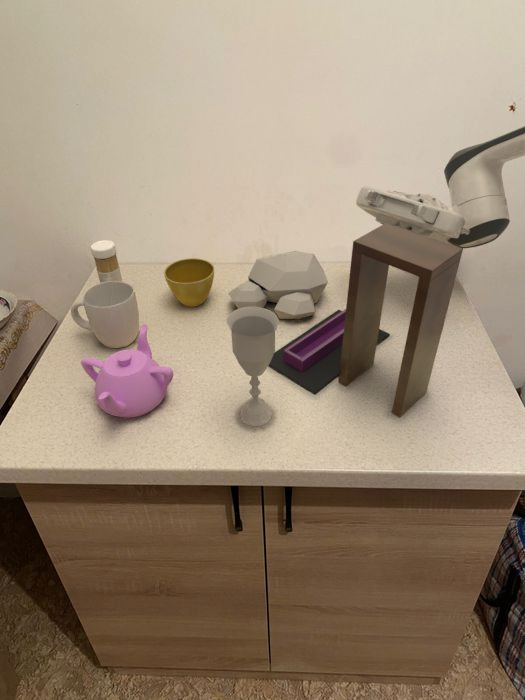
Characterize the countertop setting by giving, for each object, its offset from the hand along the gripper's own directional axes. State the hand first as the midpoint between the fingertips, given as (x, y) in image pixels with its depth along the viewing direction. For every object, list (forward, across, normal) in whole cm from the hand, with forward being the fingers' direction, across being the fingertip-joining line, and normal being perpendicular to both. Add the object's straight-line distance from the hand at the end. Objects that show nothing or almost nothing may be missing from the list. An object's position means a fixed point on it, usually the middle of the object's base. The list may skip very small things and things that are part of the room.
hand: (392, 201), depth 86 cm
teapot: (+29, +15, -44) cm, 55 cm away
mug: (+23, +32, -41) cm, 57 cm away
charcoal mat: (+1, 0, -28) cm, 28 cm away
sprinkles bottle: (+17, +42, -37) cm, 58 cm away
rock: (-4, +18, -25) cm, 31 cm away
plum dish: (0, +1, -26) cm, 26 cm away
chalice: (+19, -2, -38) cm, 43 cm away
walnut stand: (+3, -13, -29) cm, 32 cm away
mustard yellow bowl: (+7, +31, -31) cm, 44 cm away
